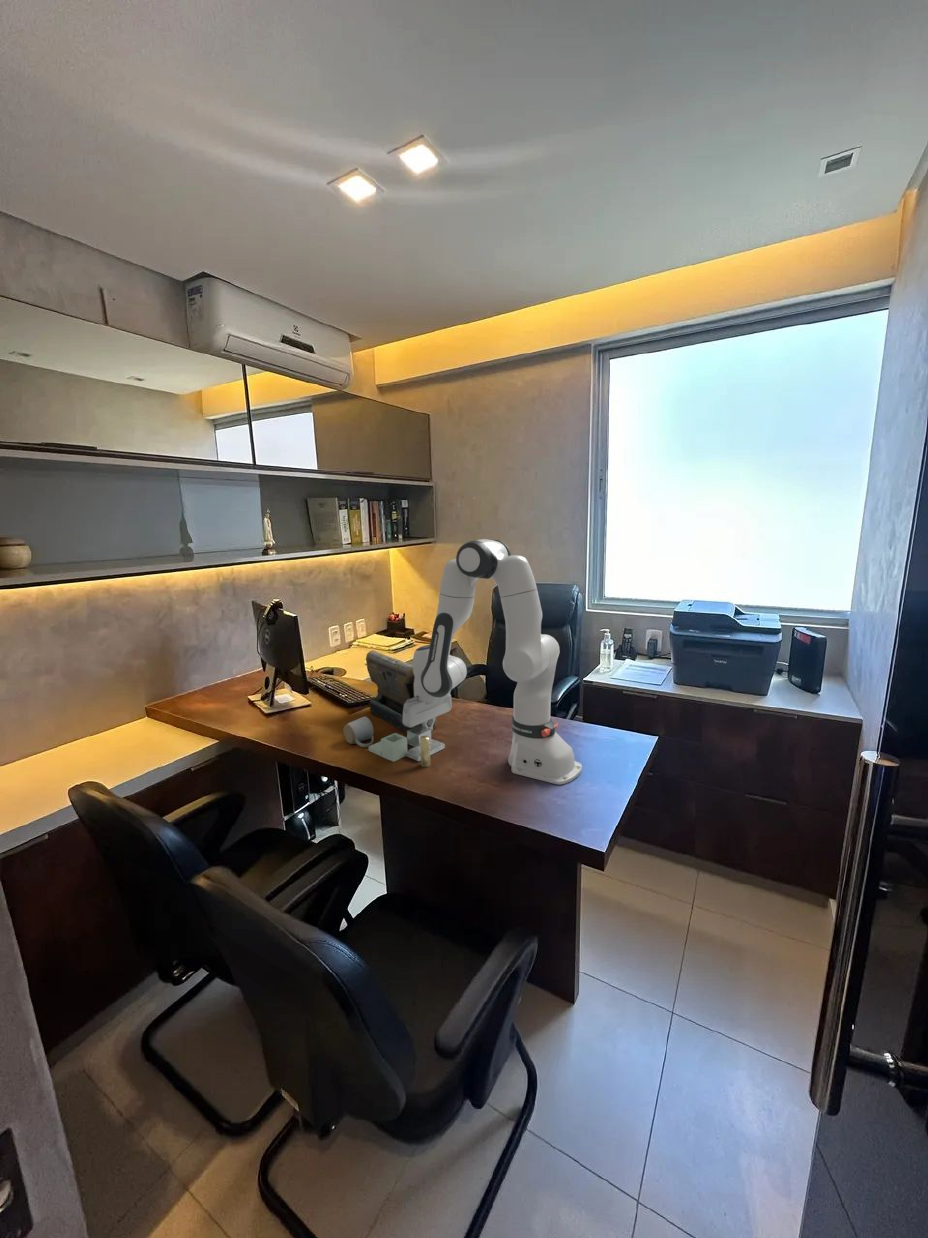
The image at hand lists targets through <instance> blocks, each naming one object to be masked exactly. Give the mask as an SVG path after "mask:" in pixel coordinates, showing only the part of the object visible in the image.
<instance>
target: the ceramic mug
mask: <svg viewBox="0 0 928 1238" xmlns="http://www.w3.org/2000/svg"><path fill="white" fill-rule="evenodd" d="M342 731H343V736H344V738H345V741H346V742H347V743H348V744H351V745H354V744H356V745H358V746H359V747H361V748H369V746H371V745H373V744H374V733H375V732H374V726H373V722H372V721H371V720H370V719H369V718H368V717H367V716H363V717H360V718H358V719H355V720H352V721H350V722H348V723H347V724H345V725H344V727H343V730H342ZM370 739H371V742H369V743H362V742H364V741H367V740H370Z"/></svg>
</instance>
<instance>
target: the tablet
mask: <svg viewBox="0 0 928 1238" xmlns="http://www.w3.org/2000/svg"><path fill="white" fill-rule="evenodd" d="M365 656H366V657H365V662H366V667H367V668H366V669H367V672H368V674H369V678H370V681H371V682H372V683H373V684H375V685H376V687H377V693H376V696H375V697H374V698H371V699H369V712H370V713H371V714H373V715H374V716H375V717H378V718H380V719H381V720H383V721H384V722H386V723H388V724H390V725H392V726H393V727H396V728H397V729H399V730H401V731H402V732H404V733H406V734H407V730H409V729H412V728H414V727H416V726H419V725H420V724H418V725H416V726H414V727H411V728H410V727H407V726H405V725H404V724H403V722H402V719H403V708H404V704H405V702H406V701H407V700H408V699H411V698H413V697H414V680H415V677H414V673H413V664H410V663H407V662H404V661H402V660H400V659H398V658H394V657H392V656H388V655H385V654H383V653H381V652H378V651H376V650H375V649H374V650H373V649H372V650H370V651H368V653H367V654H366V655H365ZM428 722H429V720H428ZM426 724H427V725H428V723H426ZM435 729H437V717H435V722H434V724H433V730H435ZM433 730H432V731H433Z"/></svg>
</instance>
